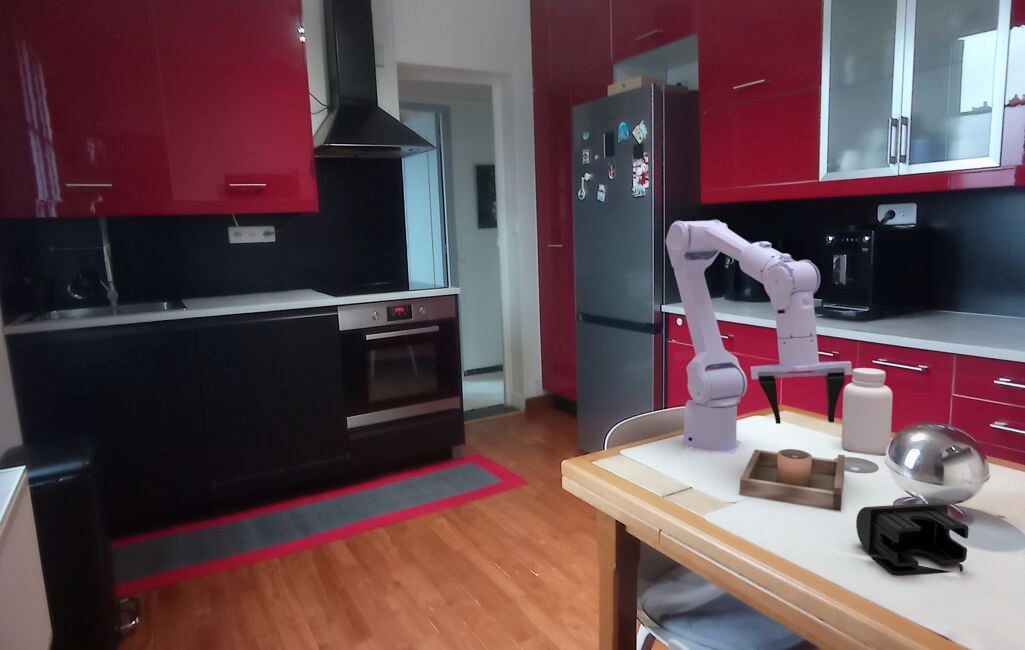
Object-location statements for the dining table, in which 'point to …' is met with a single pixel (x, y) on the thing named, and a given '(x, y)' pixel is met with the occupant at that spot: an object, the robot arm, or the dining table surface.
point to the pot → (794, 467)
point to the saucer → (859, 465)
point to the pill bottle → (867, 413)
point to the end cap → (911, 536)
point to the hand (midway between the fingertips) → (804, 422)
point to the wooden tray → (821, 494)
